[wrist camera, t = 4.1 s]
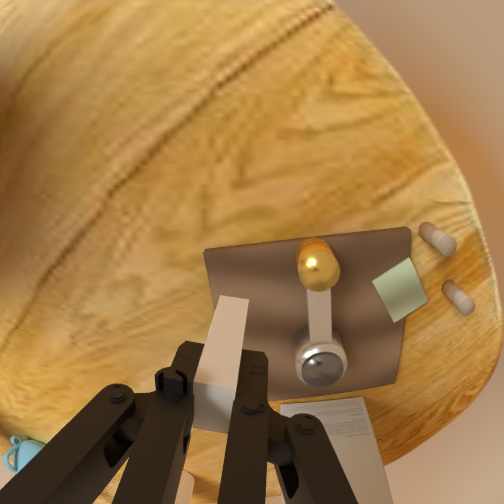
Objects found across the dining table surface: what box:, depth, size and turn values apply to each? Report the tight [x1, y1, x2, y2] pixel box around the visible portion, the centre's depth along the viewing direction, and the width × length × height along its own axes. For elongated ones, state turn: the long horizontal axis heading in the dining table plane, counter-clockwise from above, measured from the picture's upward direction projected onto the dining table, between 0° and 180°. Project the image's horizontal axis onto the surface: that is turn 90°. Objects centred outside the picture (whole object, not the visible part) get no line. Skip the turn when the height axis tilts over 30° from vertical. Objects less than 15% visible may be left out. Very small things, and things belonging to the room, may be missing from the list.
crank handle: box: [294, 238, 348, 387], centre depth 23 cm, size 12×4×4 cm, turn 8°
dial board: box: [203, 222, 475, 401], centre depth 25 cm, size 16×21×4 cm
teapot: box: [3, 435, 45, 475], centre depth 36 cm, size 15×15×10 cm
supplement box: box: [280, 397, 394, 504], centre depth 25 cm, size 9×9×15 cm
